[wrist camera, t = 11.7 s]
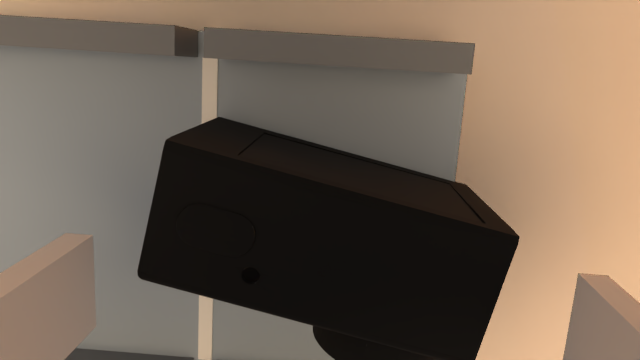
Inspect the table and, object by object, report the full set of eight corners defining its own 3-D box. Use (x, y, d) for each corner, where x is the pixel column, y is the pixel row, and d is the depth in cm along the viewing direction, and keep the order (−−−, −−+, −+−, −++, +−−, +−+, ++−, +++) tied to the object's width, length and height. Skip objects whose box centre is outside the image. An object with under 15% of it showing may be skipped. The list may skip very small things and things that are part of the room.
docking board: (463, 48, 22) (490, 44, 18) (419, 439, 26) (433, 510, 22) (-20, 18, 23) (-101, 9, 19) (6, 403, 27) (-57, 465, 22)
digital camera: (187, 240, 23) (122, 315, 16) (216, 115, 22) (159, 139, 15) (425, 305, 23) (460, 406, 16) (466, 184, 22) (522, 239, 15)
